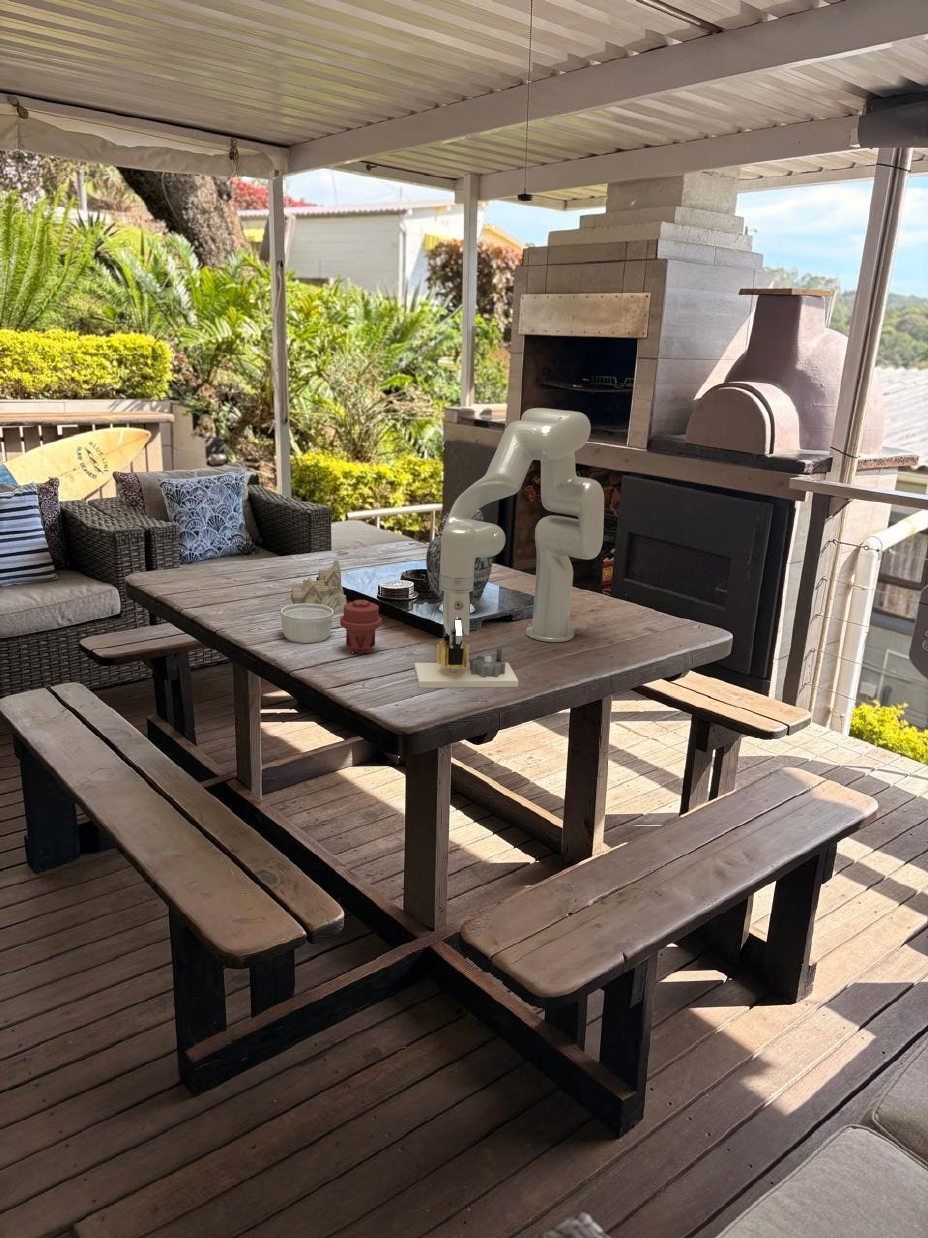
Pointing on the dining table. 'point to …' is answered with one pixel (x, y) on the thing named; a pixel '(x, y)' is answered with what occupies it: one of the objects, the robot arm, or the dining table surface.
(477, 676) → the gear board
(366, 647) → the mechanical component
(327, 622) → the ramekin
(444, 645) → the brass gear
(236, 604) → the dining table surface
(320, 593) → the ceramic cottage
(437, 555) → the decorative vase
